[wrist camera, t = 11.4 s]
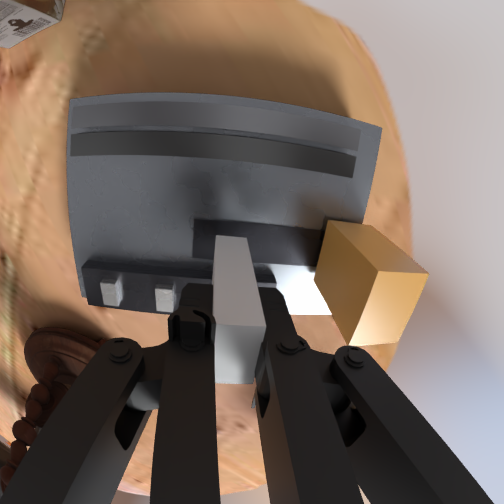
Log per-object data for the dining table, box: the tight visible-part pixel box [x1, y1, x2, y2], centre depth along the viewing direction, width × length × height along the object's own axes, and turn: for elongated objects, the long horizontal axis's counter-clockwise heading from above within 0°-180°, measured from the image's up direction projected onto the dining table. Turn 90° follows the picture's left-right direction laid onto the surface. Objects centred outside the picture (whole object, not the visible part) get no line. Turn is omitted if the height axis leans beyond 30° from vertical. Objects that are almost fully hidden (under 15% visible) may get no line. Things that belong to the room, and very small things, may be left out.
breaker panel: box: [67, 92, 382, 315], centre depth 16 cm, size 18×13×6 cm
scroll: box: [0, 327, 107, 493], centre depth 16 cm, size 15×15×20 cm
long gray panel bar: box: [70, 101, 361, 178], centre depth 13 cm, size 15×3×1 cm, turn 83°
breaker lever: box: [313, 220, 429, 346], centre depth 14 cm, size 3×4×6 cm
